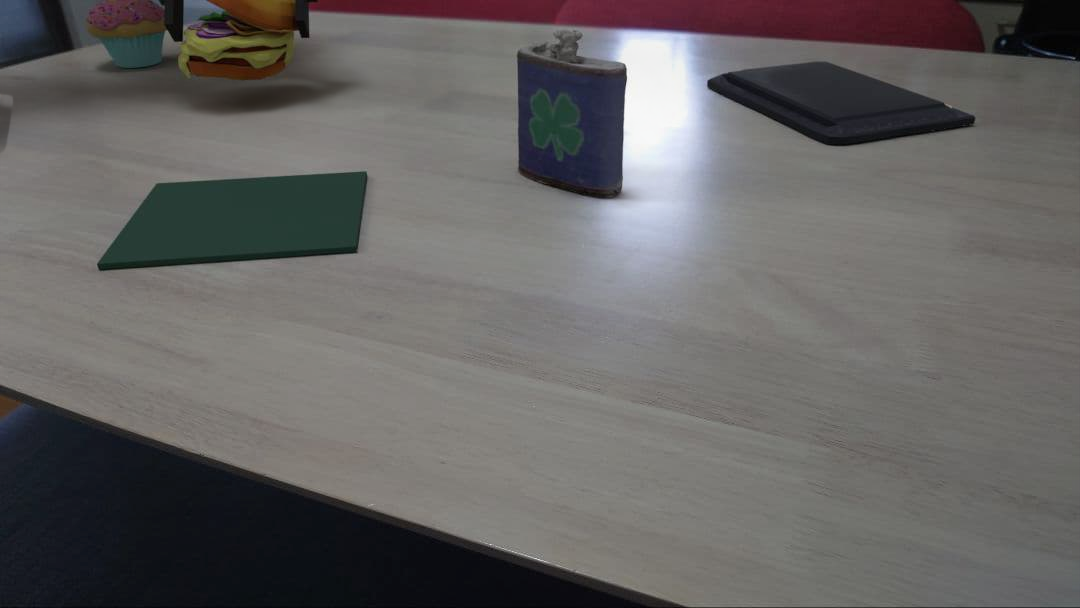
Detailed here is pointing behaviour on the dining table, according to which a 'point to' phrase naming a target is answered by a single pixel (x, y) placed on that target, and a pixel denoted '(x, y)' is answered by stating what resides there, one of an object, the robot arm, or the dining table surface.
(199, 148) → the dining table surface
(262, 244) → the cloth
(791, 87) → the wallet
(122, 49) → the cupcake
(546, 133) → the flask
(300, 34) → the robot arm
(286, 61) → the cheeseburger
